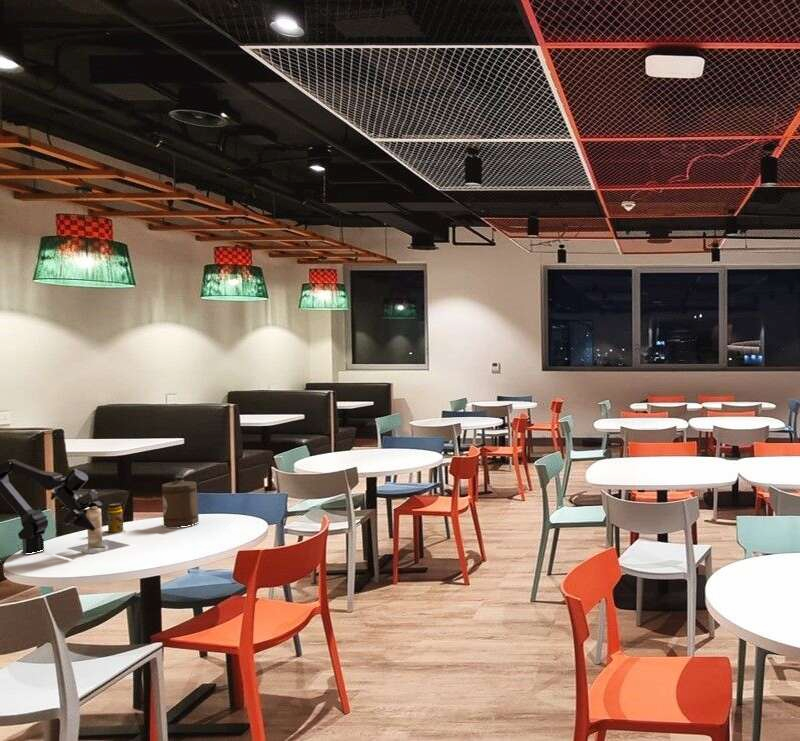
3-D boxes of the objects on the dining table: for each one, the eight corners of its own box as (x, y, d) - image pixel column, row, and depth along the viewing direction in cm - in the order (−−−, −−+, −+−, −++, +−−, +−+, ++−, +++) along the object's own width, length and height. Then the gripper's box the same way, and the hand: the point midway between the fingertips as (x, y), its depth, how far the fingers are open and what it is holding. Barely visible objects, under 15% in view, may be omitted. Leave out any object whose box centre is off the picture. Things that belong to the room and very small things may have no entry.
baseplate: (91, 556, 274) (91, 551, 274) (67, 550, 286) (67, 545, 286) (130, 547, 287) (130, 542, 287) (105, 541, 298) (105, 536, 298)
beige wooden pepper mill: (90, 548, 277) (89, 509, 277) (86, 546, 281) (85, 507, 281) (104, 546, 280) (102, 507, 280) (100, 544, 284) (98, 505, 284)
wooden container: (170, 521, 333) (168, 472, 332) (203, 520, 332) (201, 471, 332) (158, 529, 318) (156, 478, 318) (192, 528, 317) (190, 477, 317)
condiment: (126, 532, 314) (124, 504, 314) (105, 535, 310) (103, 506, 309) (122, 529, 320) (120, 501, 320) (101, 532, 316) (100, 504, 315)
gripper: (69, 488, 271) (98, 518, 270) (96, 480, 290) (124, 508, 289) (50, 510, 273) (78, 539, 271) (79, 500, 291) (106, 528, 290)
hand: (98, 528), depth 280 cm, fingers closed on beige wooden pepper mill, 5 cm apart
